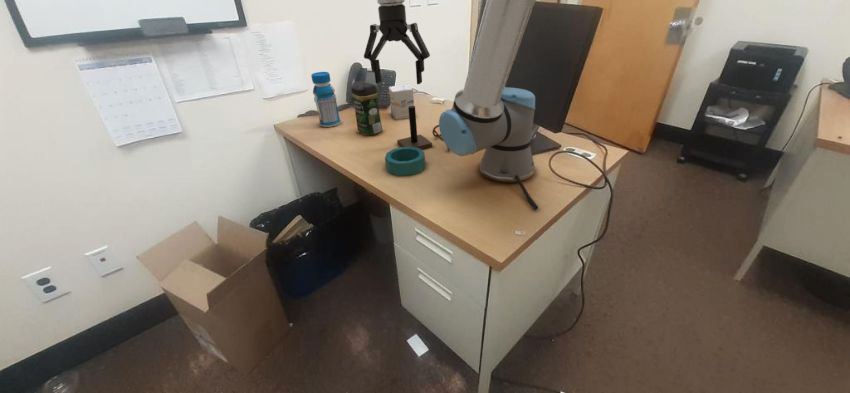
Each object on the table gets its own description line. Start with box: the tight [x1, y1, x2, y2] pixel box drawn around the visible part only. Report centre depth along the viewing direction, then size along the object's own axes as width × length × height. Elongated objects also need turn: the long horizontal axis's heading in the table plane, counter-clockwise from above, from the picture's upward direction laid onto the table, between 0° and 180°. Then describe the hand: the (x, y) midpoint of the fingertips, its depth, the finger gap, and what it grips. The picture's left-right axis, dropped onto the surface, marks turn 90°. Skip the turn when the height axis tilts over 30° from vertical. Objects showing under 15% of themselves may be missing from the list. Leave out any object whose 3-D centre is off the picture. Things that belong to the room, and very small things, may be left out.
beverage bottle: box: [311, 71, 341, 128], centre depth 137 cm, size 8×8×20 cm
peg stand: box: [396, 105, 433, 151], centre depth 116 cm, size 9×9×14 cm
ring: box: [384, 146, 426, 177], centre depth 105 cm, size 12×12×4 cm
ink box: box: [388, 83, 415, 121], centre depth 143 cm, size 9×8×12 cm
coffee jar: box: [350, 80, 383, 137], centre depth 127 cm, size 10×8×19 cm
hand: (398, 82), depth 107 cm, fingers open, 13 cm apart
